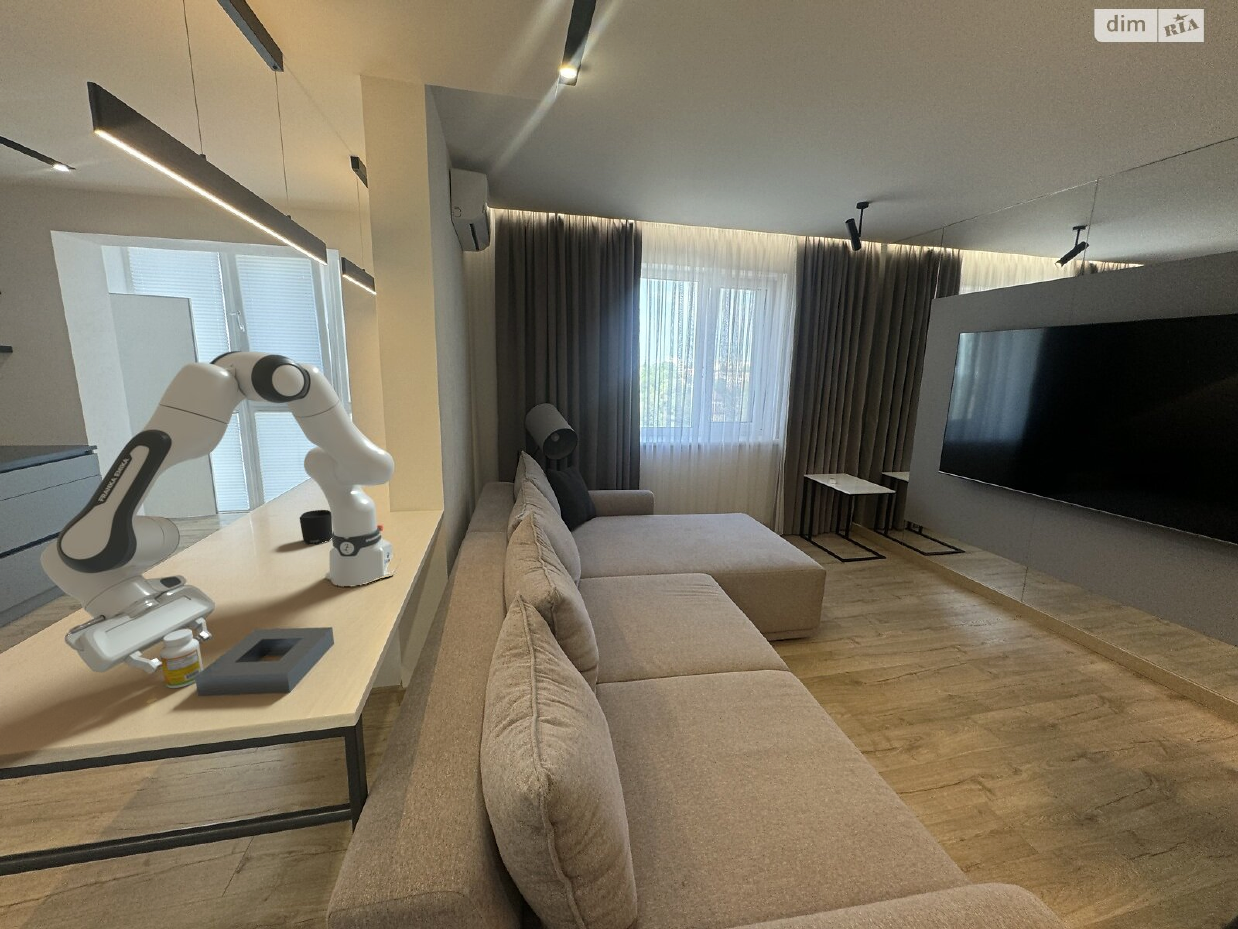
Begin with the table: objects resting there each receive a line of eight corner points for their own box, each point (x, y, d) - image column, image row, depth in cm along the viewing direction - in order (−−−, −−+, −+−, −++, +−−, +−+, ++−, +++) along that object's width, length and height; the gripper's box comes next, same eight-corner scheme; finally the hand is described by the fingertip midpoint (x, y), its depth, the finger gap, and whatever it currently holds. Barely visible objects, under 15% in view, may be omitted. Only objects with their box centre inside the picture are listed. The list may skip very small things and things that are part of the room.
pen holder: (295, 543, 160) (292, 516, 158) (320, 534, 169) (317, 508, 167) (316, 546, 157) (313, 519, 155) (340, 538, 166) (337, 511, 164)
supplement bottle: (175, 674, 90) (166, 629, 89) (209, 668, 92) (201, 624, 91) (160, 692, 86) (151, 644, 84) (196, 685, 87) (188, 639, 86)
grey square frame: (257, 646, 100) (255, 629, 99) (334, 643, 102) (332, 627, 101) (198, 696, 85) (194, 676, 84) (289, 692, 86) (287, 673, 85)
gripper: (66, 623, 76) (130, 679, 77) (190, 571, 96) (239, 617, 97) (48, 645, 77) (111, 701, 78) (174, 590, 97) (223, 635, 98)
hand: (183, 654), depth 88 cm, fingers open, 8 cm apart
